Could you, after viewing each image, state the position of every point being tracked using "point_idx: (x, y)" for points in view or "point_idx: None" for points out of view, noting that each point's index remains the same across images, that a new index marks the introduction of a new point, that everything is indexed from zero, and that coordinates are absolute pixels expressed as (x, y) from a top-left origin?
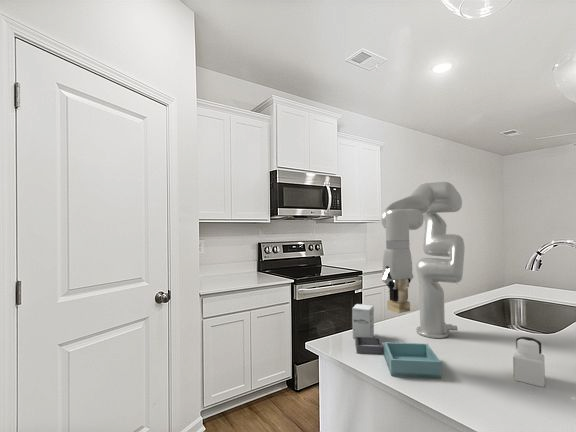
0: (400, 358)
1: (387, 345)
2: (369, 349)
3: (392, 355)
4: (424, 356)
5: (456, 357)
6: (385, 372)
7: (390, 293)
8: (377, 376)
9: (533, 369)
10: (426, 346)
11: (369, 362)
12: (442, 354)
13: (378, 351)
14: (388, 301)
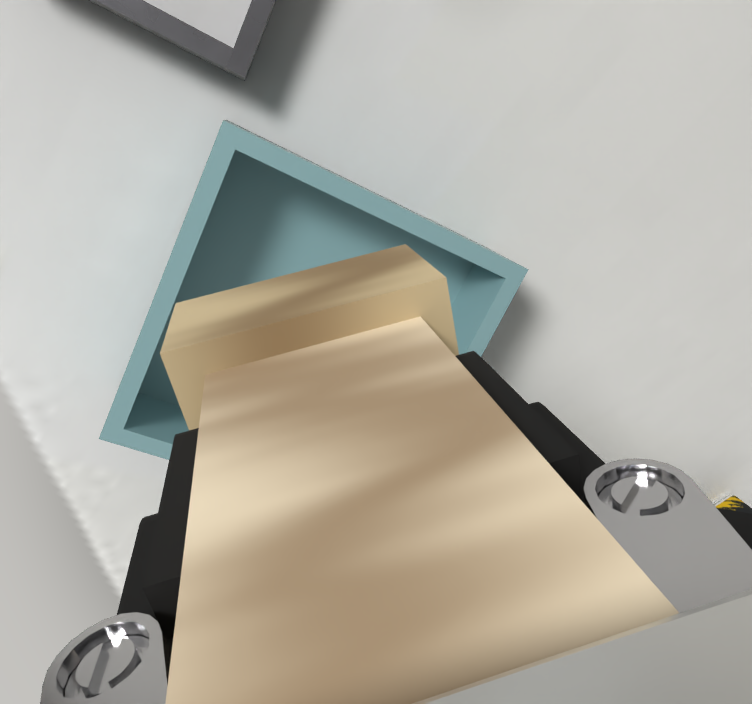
0: (293, 239)
1: (212, 199)
2: (126, 17)
3: (268, 174)
4: (464, 261)
5: (644, 291)
6: (106, 342)
7: (135, 581)
8: (28, 374)
9: None
10: (492, 297)
11: (60, 175)
12: (611, 229)
13: (202, 58)
14: (173, 376)
